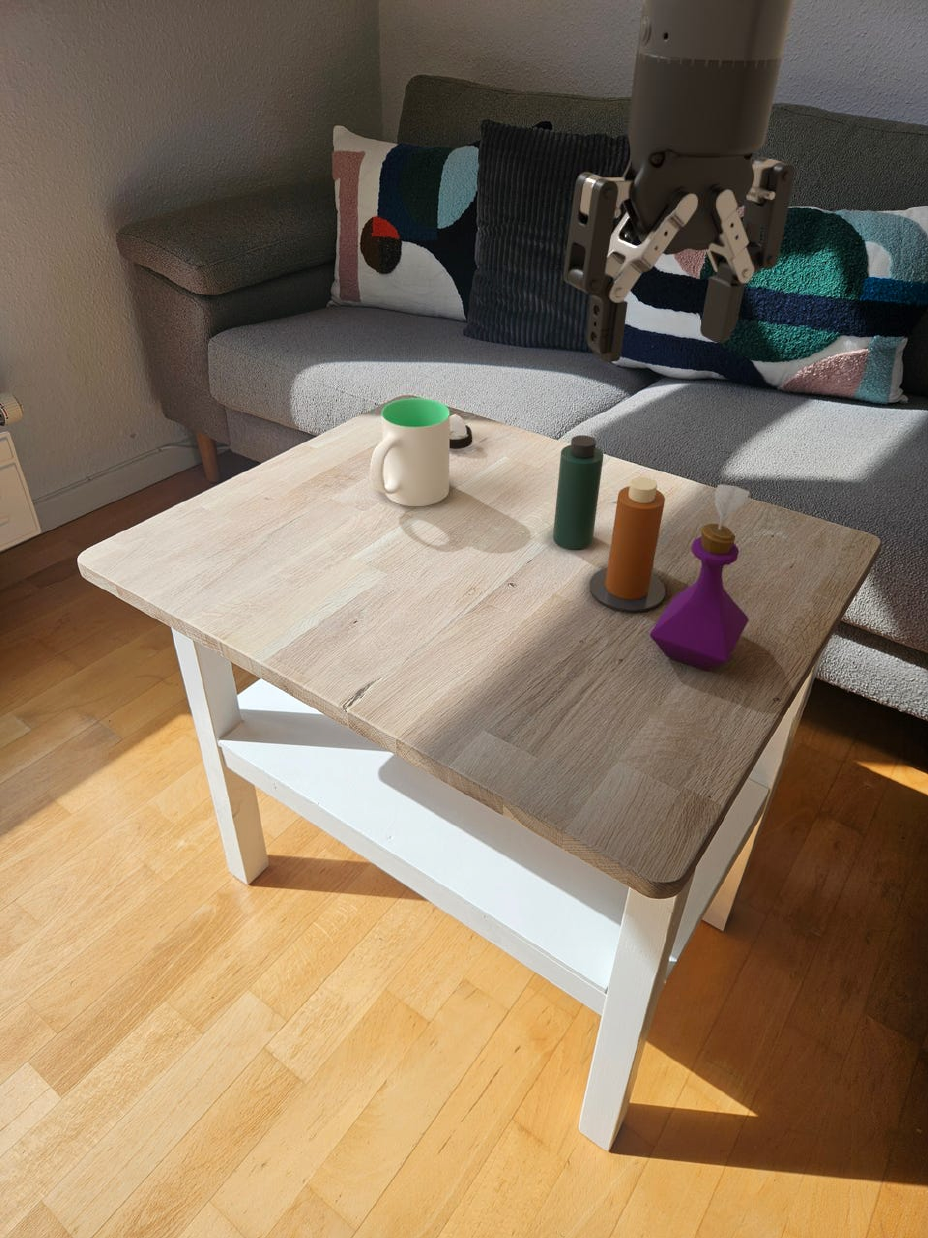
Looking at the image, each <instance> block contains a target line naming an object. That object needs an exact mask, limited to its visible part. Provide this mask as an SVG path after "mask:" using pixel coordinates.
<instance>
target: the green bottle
mask: <svg viewBox="0 0 928 1238" xmlns="http://www.w3.org/2000/svg"><path fill="white" fill-rule="evenodd" d="M596 443H597V441H596V439H595V438H594V437H592V436H590V435H584V434H583V435H580V434H579V435H575V436H573V437H572V438H571V441H570V444H569V445H566V446H564V447H563V448H562V449H561V450H560V459H559V467H558V477H557V478H558V479H557V487H556V499H555V509H554V510H555V511H554V520H553V521H554V522H553V532H552V540H553V542H554V544H556V545H557V546H559V547H561V548H563V549H567V550H571V551H579V550H584V549H586V548H588V547H591V545H592V543H593V542H594V541H593V540H594V534H595V526H596V525H595V524H596V517H597V510H598V502H599V496H600V495H599V494H600V487H601V478H602V471H603V463H604V451H602V449H600V448H598V447H597V446H596V445H597V444H596Z"/></svg>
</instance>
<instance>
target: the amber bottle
mask: <svg viewBox="0 0 928 1238" xmlns="http://www.w3.org/2000/svg"><path fill="white" fill-rule="evenodd" d="M657 488H658V483H657V482H656V480H654V479H652V478H649V477H645V476H637V477H634V478H632V479H631V480H630V482H629V485H627V486H625V487H623V488H621V489H620V490H619V491H618V495H617V499H616V505H615V506H616V507H615V513H614V521H613V527H612V535H611V539H610V546H609V547H610V548H609V555H608V561H607V567H608V568H607V567H606V568H607V575H606V582H605V586H606V589H607V590H608V591H609V592H610V593H611V594H612V595H614V596H616V597H619V598H623V599H638V598H641V597H643V596H645V595H646V594H647V592H648V590H649V585H650V579H651V574H653V567H654V562H655V556H656V551H657V546H658V540H659V535H660V531H661V524H662V518H663V513H664V508H665V503H666V498H665V495H664V494H663V493H662V492H661V491H660V490H658V489H657Z"/></svg>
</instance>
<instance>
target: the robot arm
mask: <svg viewBox="0 0 928 1238" xmlns="http://www.w3.org/2000/svg"><path fill="white" fill-rule="evenodd" d="M793 5H794V0H642V5H641V13H640V14H641V15H640V22H639V29H638V31H639V32H638V39H637V49H636V55H635V56H636V57H635V64H634V73H633V81H632V90H631V99H630V106H629V116H628V123H627V131H626V133H627V138H628V143H629V149H630V151H629V153H630V156H629V160H628V164H627V166H626V168H625V170H624V173H623V174H622V176H621V177H619V176H617V177H603V176H599V175H597V174H595V173H591V172H588V171H584V172H582V173H580V174H579V176H578V177H577V178H576V180H575V185H574V192H573V200H572V206H571V207H572V208H571V213H570V222H569V228H568V229H569V230H568V236H567V245H566V251H565V258H564V259H565V260H564V265H563V274H562V276H563V280H564V282H565V283H566V284H569V285H570V286H572V287H574V288H576V289H578V290H580V291H582V292H584V293H585V294H587V295H588V296H590V304H589V314H588V324H587V332H586V335H587V336H586V342H587V346H588V348H590V349H591V351H592V353H593V355H594V356H596V357H597V358H599V359H600V360H602V361H603V362H605V363H613V362H618V361H619V360H620V359H621V356H622V349H623V341H624V334H625V327H626V326H625V325H626V319H627V310H628V303H629V302H628V301H626V300H625V299H626V297H627V296H628V294H629V293H630V292H631V290H632V289H633V287H634V286H635V284H636V283H637V282H638V280H639V278H640V277H641V275H642V274H644V273H645V272H649V271H651V270H652V269H653V268H654V267H655V265H656V264H657V262H658V261H659V260H660V259H661V256H662V255H665V256H669V255H676V254H679V253H681V252H684V251H686V250H693V251H698V252H699V251H705V252H706V254H707V256H708V258H709V261H710V263H711V265H712V268H713V271H715V272H716V275H712V276H709V279H708V284H707V289H706V294H705V300H704V305H703V312H702V317H701V322H700V326H699V327H700V328H699V330H700V335H702V337H704V338H706V339H708V340H710V341H712V342H713V343H716V344H720V343H724V342H728V341H729V340H730V339H731V335H732V332H734V330H735V328H736V325H737V323H738V320H739V314H740V308H741V306H742V300H743V295H744V292H745V291H744V290H745V286H746V283H748V282H750V281H751V280H752V278H753V276H754V274H755V273H758V272H759V271H761V270H762V269H764V270H766V271H769V270H772V269H773V268H774V267H776V265H777V264H778V262H779V258H780V252H781V248H782V242H783V238H784V237H783V236H784V232H785V226H786V221H787V216H788V210H789V205H790V201H791V194H792V188H793V184H794V180H795V179H794V177H795V168H794V166H793V165H792V164H789V163H786V162H783V161H781V160H780V161H779V160H777V159H773V158H766V157H763V156H761V157H757V158H756V159H755V160H754V161H753V154H754V153H756V152H758V151H759V150H760V149H761V148H762V147H763V146H764V144H765V142H766V138H767V132H768V128H769V123H770V119H771V114H772V110H773V105H774V99H775V94H776V90H777V85H778V79H779V75H780V69H781V64H782V59H783V55H784V49H785V45H786V40H787V36H788V30H789V25H790V21H791V16H792V11H793ZM744 201H745V204H744V210H743V217H742V219H741V217H740V214H739V212H738V209H739V208H740V207H741V205H742V204H743V202H744ZM622 204H623V207H624V209H625V211H626V212H625V214H624V215H623V216H622V218H621V220H620V221H619V223H618V224H617V225H616V227H615V228H614V230H613V226H614V220H615V219H617V218H619V217H620V216H621V214H622V210H621V205H622ZM762 231H763V232H762ZM761 232H762V238H761ZM637 237H638V239H639V241H640V242H641V243H640V244H638V245H635V244H633V242H634V240H635V238H637ZM760 238H761V243H760Z"/></svg>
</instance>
